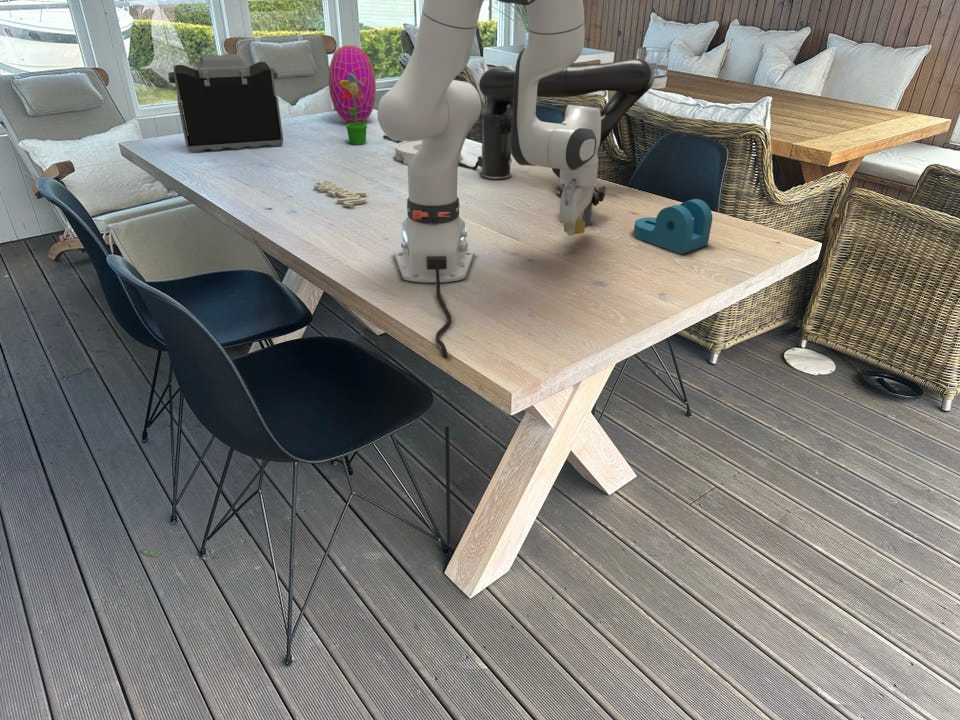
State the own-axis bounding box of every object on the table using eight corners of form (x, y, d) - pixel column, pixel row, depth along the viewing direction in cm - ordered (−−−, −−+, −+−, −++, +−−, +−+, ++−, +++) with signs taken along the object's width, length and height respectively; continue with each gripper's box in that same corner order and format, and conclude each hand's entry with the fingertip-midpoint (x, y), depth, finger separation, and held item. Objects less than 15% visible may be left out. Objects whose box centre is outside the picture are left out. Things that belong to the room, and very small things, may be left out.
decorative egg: (362, 116, 305) (357, 42, 290) (386, 123, 292) (382, 46, 277) (324, 121, 294) (316, 45, 279) (347, 129, 281) (340, 49, 266)
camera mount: (707, 244, 172) (715, 204, 167) (681, 254, 167) (689, 212, 161) (650, 225, 184) (656, 186, 179) (624, 233, 179) (629, 194, 173)
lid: (587, 229, 171) (588, 221, 169) (578, 235, 167) (579, 226, 166) (569, 226, 173) (570, 217, 172) (560, 231, 169) (560, 223, 168)
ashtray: (454, 167, 232) (454, 155, 230) (388, 164, 235) (387, 152, 233) (466, 151, 252) (466, 140, 250) (404, 148, 255) (404, 137, 253)
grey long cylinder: (592, 225, 185) (599, 154, 175) (577, 226, 184) (583, 155, 174) (587, 220, 188) (594, 150, 179) (572, 220, 188) (578, 151, 178)
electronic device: (280, 133, 274) (270, 51, 259) (288, 146, 256) (277, 59, 241) (182, 140, 262) (165, 54, 247) (183, 153, 245) (164, 62, 229)
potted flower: (342, 144, 260) (336, 73, 247) (351, 139, 266) (346, 70, 254) (365, 146, 257) (360, 74, 245) (374, 141, 264) (369, 71, 251)
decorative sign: (378, 198, 199) (347, 205, 194) (378, 202, 199) (348, 208, 194) (336, 178, 217) (306, 183, 211) (336, 181, 217) (307, 186, 212)
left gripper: (581, 187, 154) (576, 246, 161) (600, 165, 170) (595, 219, 177) (554, 184, 155) (550, 242, 162) (575, 163, 172) (571, 216, 179)
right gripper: (552, 170, 193) (560, 188, 178) (603, 170, 193) (615, 188, 179) (551, 196, 197) (558, 215, 182) (600, 196, 197) (612, 216, 182)
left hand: (574, 230), depth 170 cm, fingers closed on lid, 5 cm apart
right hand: (586, 202), depth 180 cm, fingers closed on grey long cylinder, 4 cm apart
